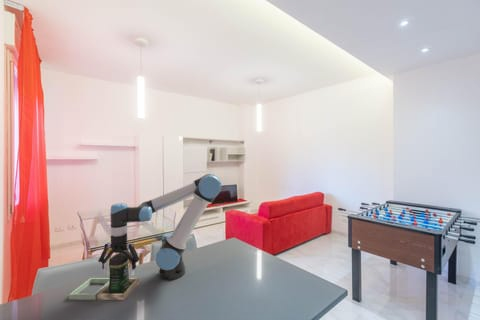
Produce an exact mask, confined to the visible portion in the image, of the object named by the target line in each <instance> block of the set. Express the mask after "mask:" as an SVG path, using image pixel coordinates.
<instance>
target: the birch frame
mask: <svg viewBox="0 0 480 320" xmlns="http://www.w3.org/2000/svg"><path fill="white" fill-rule="evenodd" d="M139 284H140V278H139V277H137V278H136V277H135V278H134V277H133V278H132V277H129V287H128V289H127V290H126V291H125V292H124V293H122V294H109V285H107V286H106V287H105V288H104V289H103V290H102V291H101V292H100V293H99V294H97V299H96V300H98V301H104V300H105V301H106V300H107V301H110V300H111V301H124V300H125V299H126V298H127V297H128V296H129V295H130V294H131V292H132V291H133V290H134V289H135V288H136V287H137V286H138V285H139Z"/></svg>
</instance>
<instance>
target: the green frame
mask: <svg viewBox="0 0 480 320" xmlns="http://www.w3.org/2000/svg"><path fill="white" fill-rule="evenodd" d="M109 279H110V277H90V278H88V279H87V280H86V281H85V282H83V283H82V284H81V285H79V286H78V287H77V288H76V289H74V290H73V291H72V292H70V293H69V294H68V300H83V301H84V300H89V301H91V300H94V301H95V300H97V294H99V293H100V292H101V291H102V290H103V289H104V288H105V287H106V286H107V285H109ZM91 284H104V285H103V286H102V287H100V288H99V289H98V290H97V291H96V292H94V293H90V292H89V293H84V292H83V293H82V291H83V290H85V289H86V288H88V286H90V285H91Z"/></svg>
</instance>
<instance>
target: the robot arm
mask: <svg viewBox="0 0 480 320" xmlns="http://www.w3.org/2000/svg"><path fill="white" fill-rule="evenodd" d="M221 191H222V183H221V180H220V179H219V177H217V176H216V175H215V174H211V173H208V174H205V175H203V176H201V177H199V178H197V179H195V180H193V181H192V183H190V184H187V185H184V186H182V187H180V188H177V189H175V190H172V191H170V192H166V193H165V194H163V195H159V196H158V197H155V198H153V199H150V200H147V201H143V202H142V203H141V204H139V205H138V206H132V207H131V206H130V207H129V206H128V204H127V203H123V202H119V203H115V204H112V205H111V206H110V214H109V215H110V235H111V236H110V242H107V243H105V244H104V247H103V250H102V253H101V254H100V256H99V258H98V260H97V262H99V263H102V267H101V268H102V270H103V278H106V277H107V276H108V275H110V268H109V261H108V260H110V259H111V258H110V257H111V256H112V255H113V254H114V253H115V254H119V253H123V254H125V256H126V257H127V258H128V259H129V278H132V277H133V276H134V275H135V269H136V268H137V263H138V262H139V260H140V257H139V254H138V252H137V251H136V248H135V246H134V242H130V243H128V223H142V222H143V223H144V222H150V221H151V220H152V218H153V217H152V216H153V214H154V213H156V212H159V211H161V210H164V209H166V208H168V207H172V206H174V205H176V204H178V203H180V202H183V201H185V200H189V199H190V198H192V197H193V198H192V199H191V201H190V203H189V205H188V206H187V209H186V210H185V212H184V213H183V215H182V217H181V218H180V220H179V222H178V223H177V225H176V227H175V228H174V230H173V231H172V232H171V233H166V234H163V235H161V245H160V247H159V249H158V252H157V253H156V256H155V263H156V265H157V267H158V268H159V269H158V270H159V271H158V277H159V278H160V279H162V280H167V281H170V280H172V281H173V280H176V279H179V278H181V277H183V276H184V275H186V272H187V269H186V265H185V262H184V259H183V255H184V254H183V253H184V251H185V250H186V249H187V245H186V243H187V241H188V240H189V238H190V236H191V234H192V232H193V231H194V229H195V228H196V225H198V222H199V220H200V219H201V218H202V215H203V214H204V212H205V210H206V209H207V207H208V205H210V204H213V202H214V201H215V199H216V197H217V196H219V194H220V193H221ZM109 249H111V250H110V251H109Z"/></svg>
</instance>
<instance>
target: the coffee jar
mask: <svg viewBox="0 0 480 320" xmlns="http://www.w3.org/2000/svg"><path fill="white" fill-rule="evenodd" d="M108 260H109V278H110V279H109V291H108V294H123V293H124V292H125V291H126V290H127V289H128V288H129V287H130V284H129V278H130V272H129V265H130V260H129V259H128V258H127V257H126V256H125V254H123V253H116V254H115V255H113V256H112V257H111V258H109V259H108Z"/></svg>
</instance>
